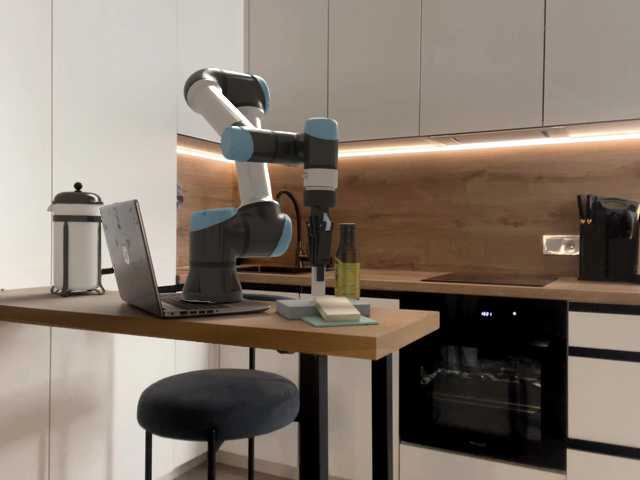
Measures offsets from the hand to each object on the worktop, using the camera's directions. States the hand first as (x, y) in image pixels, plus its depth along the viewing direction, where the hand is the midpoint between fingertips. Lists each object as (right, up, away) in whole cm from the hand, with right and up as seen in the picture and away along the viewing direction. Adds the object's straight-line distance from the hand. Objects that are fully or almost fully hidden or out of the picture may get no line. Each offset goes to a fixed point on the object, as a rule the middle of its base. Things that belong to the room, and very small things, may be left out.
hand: (318, 295), depth 130 cm
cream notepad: (+4, -2, -11) cm, 12 cm away
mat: (+4, -4, -12) cm, 14 cm away
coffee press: (-64, -2, +28) cm, 70 cm away
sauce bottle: (+7, -4, +14) cm, 16 cm away
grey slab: (+1, -4, -2) cm, 5 cm away
